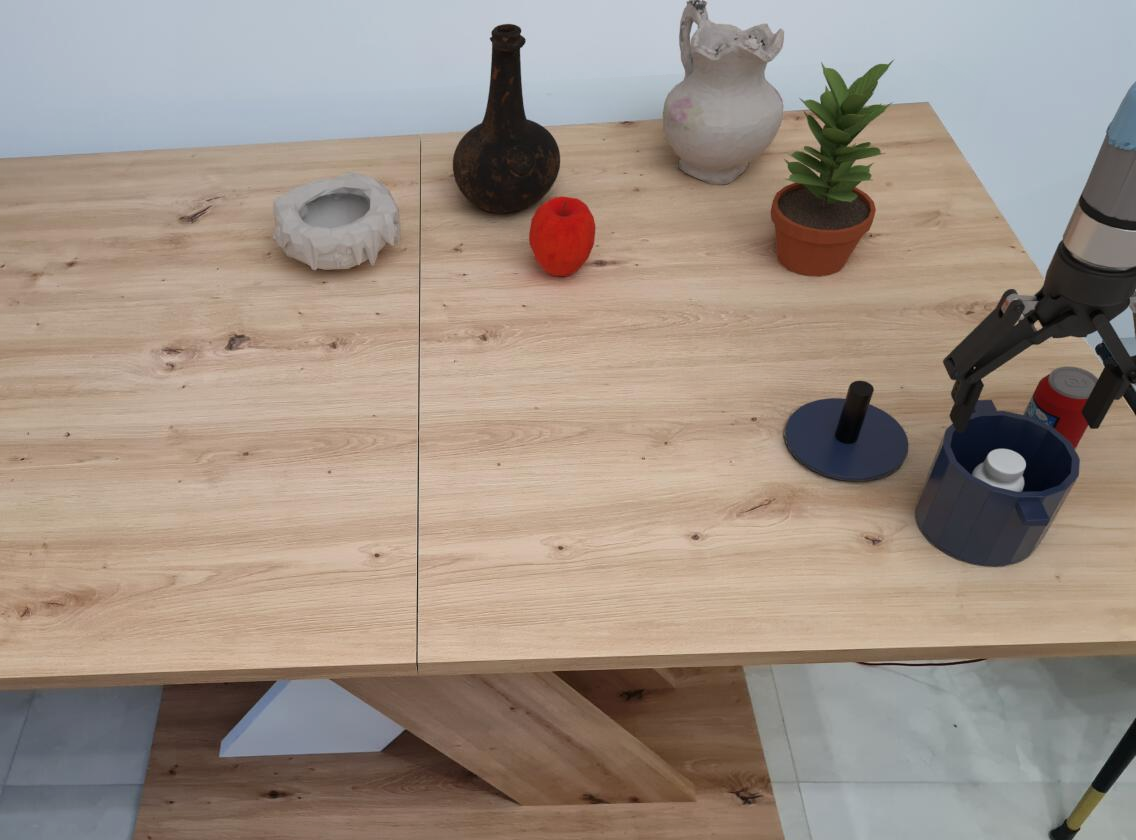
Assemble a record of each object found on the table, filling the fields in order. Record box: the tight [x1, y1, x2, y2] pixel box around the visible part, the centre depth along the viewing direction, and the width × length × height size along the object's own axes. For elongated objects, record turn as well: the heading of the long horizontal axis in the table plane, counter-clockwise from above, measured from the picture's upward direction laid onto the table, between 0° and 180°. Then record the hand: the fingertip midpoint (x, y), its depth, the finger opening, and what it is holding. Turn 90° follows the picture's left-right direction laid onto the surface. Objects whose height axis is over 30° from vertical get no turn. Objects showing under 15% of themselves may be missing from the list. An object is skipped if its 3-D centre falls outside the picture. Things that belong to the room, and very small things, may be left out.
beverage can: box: [1022, 366, 1099, 450], centre depth 125 cm, size 7×7×12 cm
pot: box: [914, 399, 1081, 568], centre depth 119 cm, size 14×19×12 cm
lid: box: [784, 380, 909, 482], centre depth 130 cm, size 15×15×9 cm
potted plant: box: [770, 59, 895, 277], centre depth 149 cm, size 15×15×30 cm
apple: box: [528, 196, 597, 277], centre depth 158 cm, size 10×10×12 cm
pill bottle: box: [971, 449, 1026, 492], centre depth 119 cm, size 5×5×10 cm
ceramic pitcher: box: [662, 0, 785, 186], centre depth 172 cm, size 22×20×25 cm
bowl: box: [272, 171, 401, 271], centre depth 167 cm, size 21×20×10 cm
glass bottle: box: [452, 23, 561, 214], centre depth 168 cm, size 18×18×28 cm
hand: (1022, 422), depth 112 cm, fingers open, 13 cm apart
